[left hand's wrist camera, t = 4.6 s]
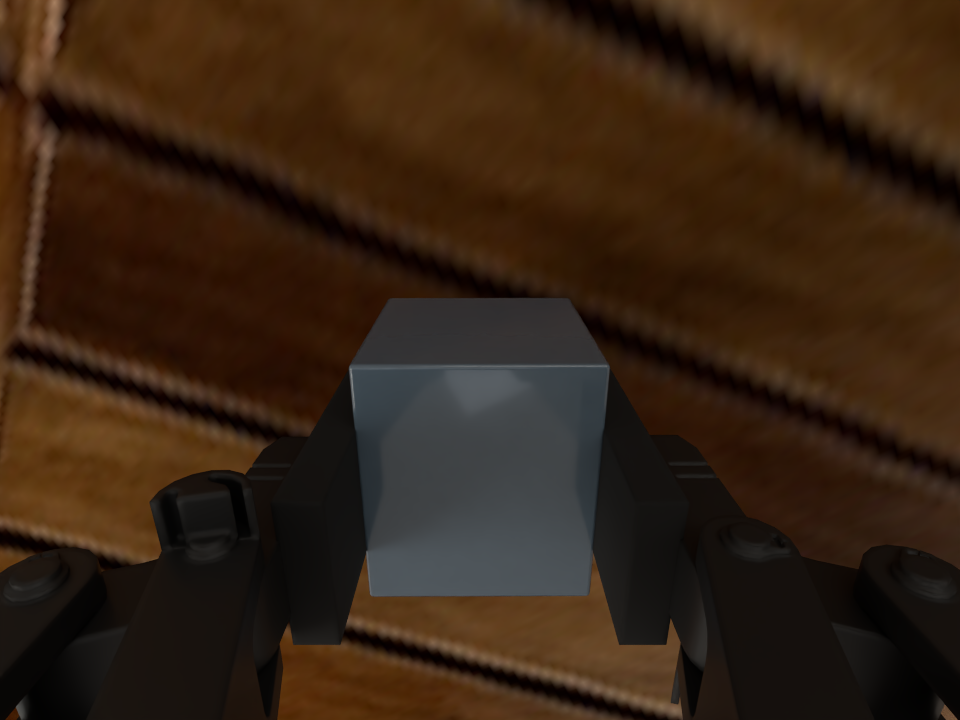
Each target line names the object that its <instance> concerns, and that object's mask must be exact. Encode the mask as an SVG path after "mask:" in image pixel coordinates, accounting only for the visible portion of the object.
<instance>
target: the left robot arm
mask: <svg viewBox="0 0 960 720" xmlns="http://www.w3.org/2000/svg"><path fill="white" fill-rule="evenodd" d="M150 506H151V510H152V514H153V518H154V522H155V526H156V529H157V533H158V537H159V541H160V545H161V549H162V552H161V554H160V556H159V558H158V559H156V560H152V561H149V562H145V563H141V564H136V565H131V566H127V567H122V568H117V569H113V570H108V571H103V572H101V568H100V565H99V562H98V559H97V556H95V555H94V554H93V553H92V552H91V551H89V550H87V549H81V548H75V547H72V548H63V549H54V550H50V551H46V552H43V553H39V554H36V555H33V556H30V557H28V558H26V559H25V560H22V561H20V562H18V563H16V564H14V565H12V566H10V567H8V568H7V569H5V570H4V571H2V572H1V573H0V720H5V719H6V718H7V717H8V716H9V714H10V713H11V712H12V711H13V710H14V709H15V707H16V708H17V711H18V713H19V715H20V716H19V717H18V719H17V720H277V717H278V708H279V699H280V691H281V682H282V673H283V663H282V656H281V650H280V641H281V639H282V636H283V634H284V631H285V629H286V626H287V624H288V621H290V627H291V633H292V639H293V645H340V644H341V640H342V637H343V633H344V630H345V626H346V623H347V619H348V615H349V612H350V608H351V605H352V601H353V598H354V594H355V590H356V587H357V583H358V580H359V576H360V573H361V569H362V565H363V562H364V558H365V555H366V540H365V530H364V519H363V508H362V497H361V486H360V475H359V464H358V453H357V442H356V431H355V428H354V419H353V408H352V398H351V387H350V376H349V370H348V372H347V373H346V375H345V377H344V379H343V380H342V382H341V384H340V385H339V387H338V389H337V390H336V392H335V394H334V396H333V397H332V399H331V401H330V402H329V404H328V406H327V407H326V409H325V411H324V412H323V414H322V416H321V418H320V419H319V421H318V423H317V424H316V426H315V428H314V429H313V431H312V433H311V435H310V436H309V437H281V438H280V439H278V440H277V441H275V442H274V443H272V444H271V445H269V446H268V447H266V448H265V449H263V451H262V452H261V453H260V455H259V456H258V458H257V459H256V460H255V462H254V463H253V466H252V468H250V469H249V470H248V472H247V473H246V474H245V475H244V474H243V473H239V472H235V471H231V470H211V471H206V472H201V473H197V474H192V475H190V476H187V477H184V478H182V479H179V480H177V481H174V482H173V483H171V484H169V485H168V486H166V487H165V488H163V489H162V490H160V491H159V492H158V493H157V494H156V495H155V496H154V497H153V499H152V500H151V501H150ZM593 553H594V556H595V560H596V563H597V567H598V571H599V574H600V578H601V581H602V585H603V588H604V592H605V596H606V599H607V603H608V606H609V610H610V613H611V617H612V621H613V624H614V628H615V631H616V635H617V638H618V642H619V645H666V643H667V637H668V631H669V624H670V618H671V620H672V622H673V624H674V627H675V629H676V632H677V634H678V637H679V639H680V642H681V644H680V650H679V656H678V661H677V667H676V673H675V679H674V684H673V690H672V697H671V703H674V704H678V703H679V697H680V698H681V707H682V715H683V720H946V719H945V718H944V717H943V716H942V715H941V711H942V709H943V707H944V704H945V705H946V706H947V707H948V708H949V710H950V711H951V712H952V713H953V714H954V716H955V717H956V718H957V719H958V720H960V570H959V569H958V568H956V567H955V566H953V565H952V564H950V563H948V562H946V561H943V560H941V559H939V558H937V557H935V556H933V555H932V554H929V553H926V552H923V551H921V550H920V551H918V550H917V549H913V548H908V547H903V546H894V545H882V546H876V547H871V548H870V549H869V550H868V551H867V552H865V553H864V554H863V557H862V560H861V563H860V567H859V569H854V568H849V567H845V566H840V565H835V564H830V563H826V562H821V561H816V560H813V559H809V558H805V557H802V556H801V555H800V553H799V551H798V549H797V548H796V546H795V545H794V544H793V542H792V541H791V540H790V538H788V537H787V536H786V535H784V534H783V533H782V532H780V531H779V530H778V529H776V528H775V527H773V526H770V525H768V524H766V523H764V522H761V521H759V520H757V519H752V518H748V517H746V516H745V514H744V513H743V511H742V510H741V509H740V507H739V506H738V504H737V503H736V502H735V500H734V499H733V498H732V496H731V495H730V493H729V492H728V491H727V489H726V488H725V486H724V485H723V484H722V482H721V481H720V480H719V478H716V474H715V473H714V471H713V470H712V468H711V467H710V466H708V465H707V462H706V460H705V459H704V457H703V456H702V455H701V453H700V452H699V450H698V449H697V448H696V447H695V446H693V445H692V444H690V443H689V442H687V441H686V440H684V439H683V438H681V437H680V436H678V435H649V434H648V432H647V430H646V429H645V427H644V425H643V423H642V422H641V420H640V418H639V417H638V415H637V413H636V412H635V410H634V408H633V407H632V405H631V403H630V401H629V400H628V398H627V396H626V395H625V393H624V391H623V390H622V388H621V386H620V384H619V383H618V381H617V379H616V378H615V376H614V374H613V373H612V371H611V369H610V375H609V386H608V397H607V408H606V419H605V428H604V435H603V446H602V457H601V468H600V479H599V489H598V500H597V511H596V522H595V533H594V544H593Z"/></svg>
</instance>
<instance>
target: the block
mask: <svg viewBox="0 0 960 720" xmlns="http://www.w3.org/2000/svg"><path fill="white" fill-rule="evenodd" d="M609 375H610V366H609V364H608V362H607V360H606V359H605V357H604V355H603V354H602V352H601V350H600V349H599V347H598V345H597V344H596V342H595V340H594V339H593V337H592V336H591V334H590V332H589V331H588V329H587V327H586V326H585V324H584V322H583V321H582V319H581V317H580V316H579V314H578V312H577V311H576V309H575V307H574V306H573V304H572V302H571V301H570V299H568V298H391V299H389V300H388V301H387V303H386V305H385V307H384V308H383V310H382V312H381V313H380V315H379V317H378V318H377V320H376V322H375V323H374V325H373V327H372V328H371V330H370V332H369V334H368V335H367V337H366V339H365V340H364V342H363V344H362V345H361V347H360V349H359V350H358V352H357V354H356V355H355V357H354V359H353V361H352V362H351V364H350V366H349V376H350V387H351V398H352V408H353V419H354V428H355V431H356V442H357V453H358V464H359V475H360V486H361V497H362V508H363V519H364V530H365V540H366V558H367V569H368V580H369V591H370V595H371V596H373V597H394V596H587V595H589V593H590V585H591V573H592V562H593V544H594V533H595V522H596V511H597V500H598V489H599V479H600V468H601V457H602V446H603V435H604V428H605V419H606V408H607V397H608V386H609Z"/></svg>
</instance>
